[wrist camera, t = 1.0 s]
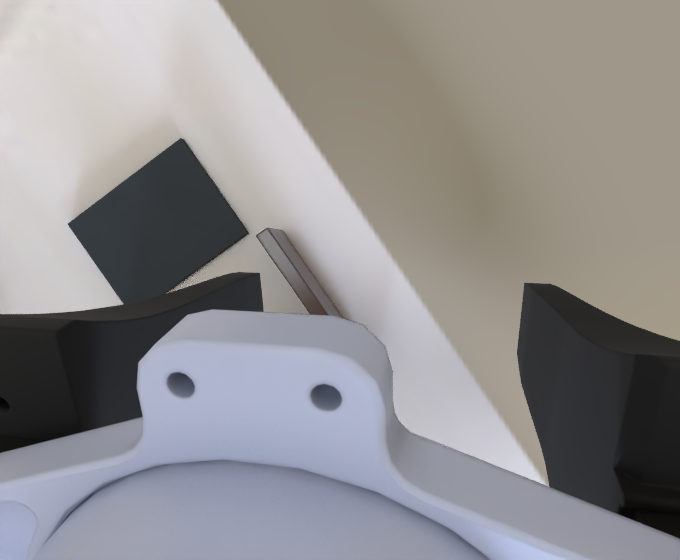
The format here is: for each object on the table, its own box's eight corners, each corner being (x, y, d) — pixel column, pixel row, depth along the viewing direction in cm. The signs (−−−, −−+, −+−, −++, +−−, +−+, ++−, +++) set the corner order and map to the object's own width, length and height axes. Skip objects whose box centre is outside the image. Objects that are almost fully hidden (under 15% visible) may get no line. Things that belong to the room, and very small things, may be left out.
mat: (135, 315, 32) (131, 316, 31) (71, 224, 31) (67, 223, 31) (248, 233, 31) (247, 232, 30) (183, 139, 31) (180, 137, 30)
